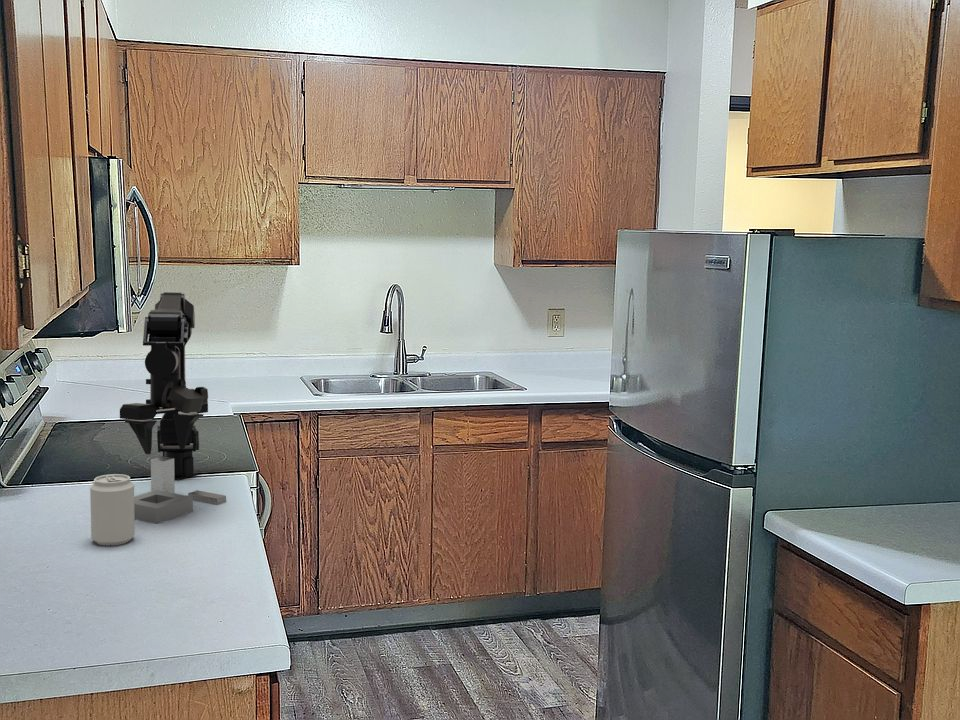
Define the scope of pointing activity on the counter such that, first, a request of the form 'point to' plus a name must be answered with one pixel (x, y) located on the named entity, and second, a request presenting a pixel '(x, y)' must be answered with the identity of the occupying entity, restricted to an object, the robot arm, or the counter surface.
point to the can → (112, 509)
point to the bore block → (161, 506)
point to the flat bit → (207, 497)
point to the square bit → (162, 474)
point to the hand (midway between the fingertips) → (165, 451)
